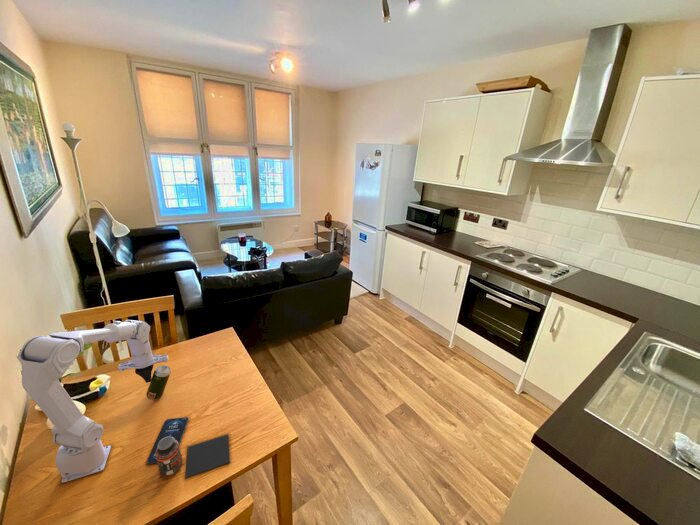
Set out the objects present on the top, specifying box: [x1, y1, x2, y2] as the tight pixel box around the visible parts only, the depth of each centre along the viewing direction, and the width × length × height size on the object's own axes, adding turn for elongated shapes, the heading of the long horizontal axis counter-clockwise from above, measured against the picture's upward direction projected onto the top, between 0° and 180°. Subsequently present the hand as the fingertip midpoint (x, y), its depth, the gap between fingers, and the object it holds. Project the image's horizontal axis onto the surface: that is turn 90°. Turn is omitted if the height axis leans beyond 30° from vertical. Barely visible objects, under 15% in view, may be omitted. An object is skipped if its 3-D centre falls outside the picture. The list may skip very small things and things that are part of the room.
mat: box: [185, 434, 231, 479], centre depth 90 cm, size 12×10×1 cm
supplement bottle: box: [155, 436, 183, 477], centre depth 84 cm, size 6×6×11 cm
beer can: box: [145, 364, 172, 401], centre depth 107 cm, size 5×5×12 cm
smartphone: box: [146, 416, 189, 465], centre depth 94 cm, size 8×1×15 cm
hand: (148, 380), depth 106 cm, fingers closed
